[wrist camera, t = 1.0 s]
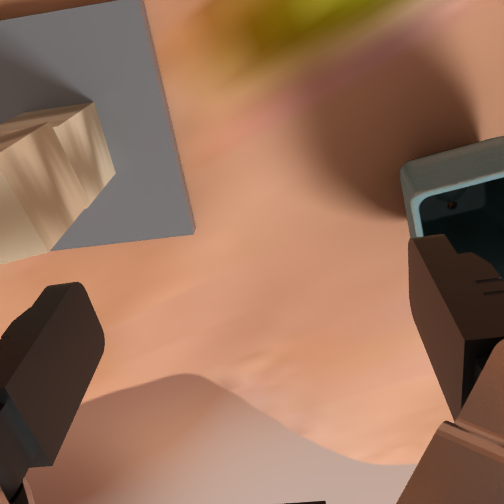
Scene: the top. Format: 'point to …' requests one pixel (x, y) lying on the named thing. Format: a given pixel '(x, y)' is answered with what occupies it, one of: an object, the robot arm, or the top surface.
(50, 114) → the tower base block
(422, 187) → the flower pot
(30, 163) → the tower top block
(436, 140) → the top surface
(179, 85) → the top surface
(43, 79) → the slate board
